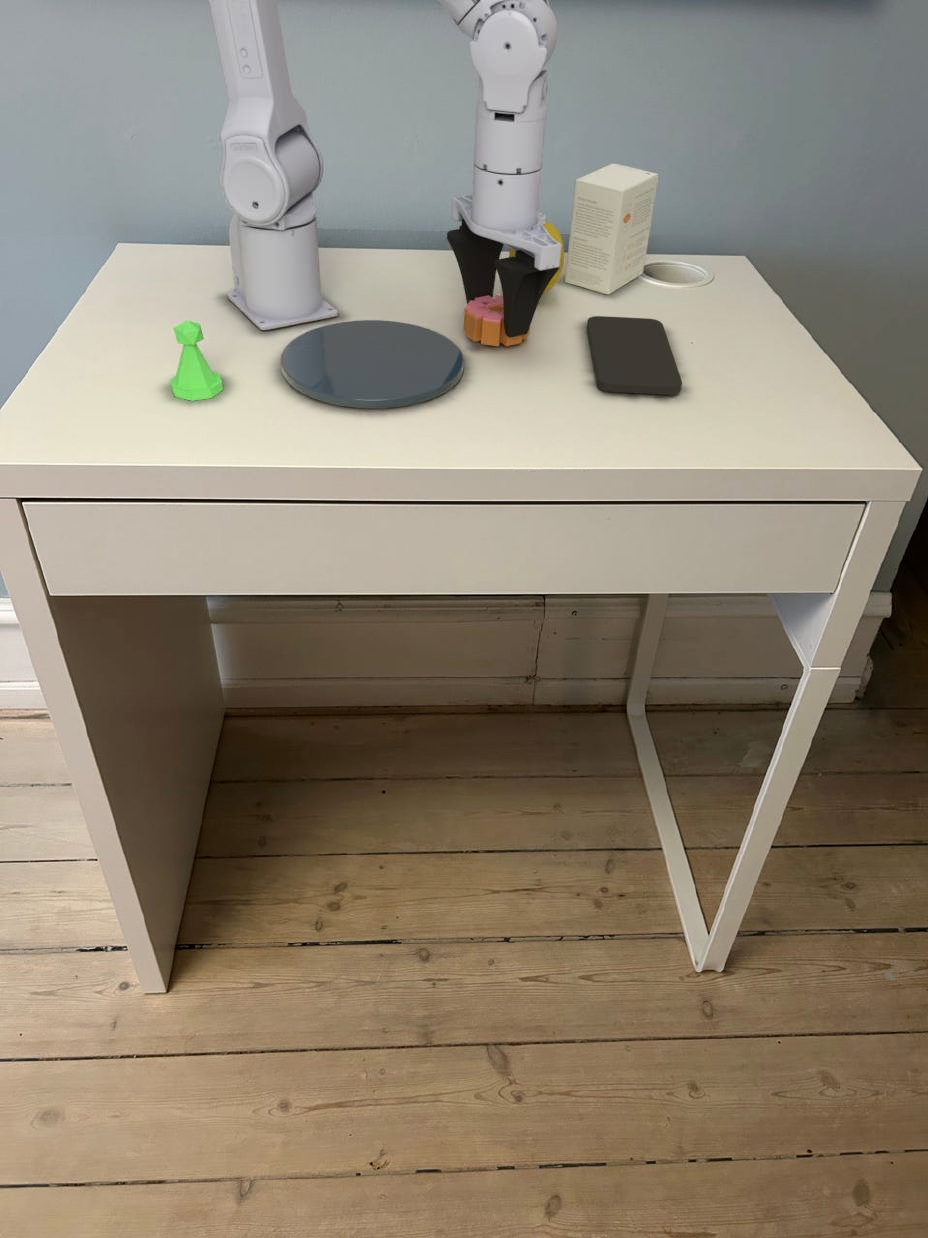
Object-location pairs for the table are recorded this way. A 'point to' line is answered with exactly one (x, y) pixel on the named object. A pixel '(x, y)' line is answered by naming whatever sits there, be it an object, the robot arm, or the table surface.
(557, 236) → the lemon
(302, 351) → the plate
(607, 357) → the phone
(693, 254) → the table surface
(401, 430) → the table surface
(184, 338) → the game piece
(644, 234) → the small box
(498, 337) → the donut
